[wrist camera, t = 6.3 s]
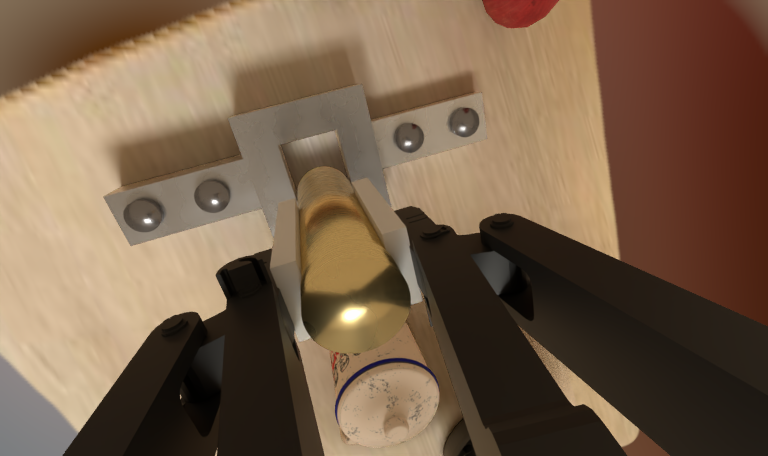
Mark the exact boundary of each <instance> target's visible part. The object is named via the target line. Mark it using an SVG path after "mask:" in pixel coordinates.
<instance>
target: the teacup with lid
mask: <svg viewBox="0 0 768 456" xmlns="http://www.w3.org/2000/svg"><path fill="white" fill-rule="evenodd" d="M330 355H331V363H332V370H333V378H334V385H335V393H336V404H335V415H336V419H337V422H338V424H339V426H340V434H341V438H342V440H343V442H344V443H346V444H350V445H355V444H357V443H358V444H360V445H363V446H367V447H374V448H383V447H390V446H395V445H398V444H401V443H403V442H406V441H408V440H410V439H411V438H413V437H415V436H416V435H417V434H419V433H420V432H421V431H422V430H423V429H424V428H426V426H427V425H428V424H429V423H430V421H431V420H432V418H433V417H434V415H435V413H436V411H437V408H438V404H439V385H438V382H437V379H436V377H435V375H434V374H433V372H432V371H431V370H430V369H429V368H428V367H427V365H426V362H425V360H424V358H423V356H422V354H421V352H420V350H419V348H418V346H417V344H416V341H415V339H414V337H413V335H412V333H411V331H410V329H409V327H408V325H407V323H406V322H405V323H404V325H403V326H402V328H401V329H400V330H399V332H398V333H397V334H396V335H395V336H394V337H393V338H391V339H390V340H389V341H388V342H386V343H385V344H383V345H381V346H379V347H377V348H375V349H373V350H370V351H366V352H362V353H354V354H344V353H338V352H334V351H331V350H330Z"/></svg>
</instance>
